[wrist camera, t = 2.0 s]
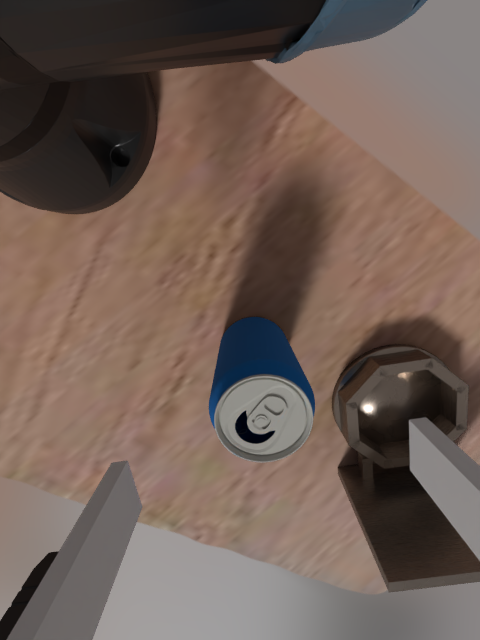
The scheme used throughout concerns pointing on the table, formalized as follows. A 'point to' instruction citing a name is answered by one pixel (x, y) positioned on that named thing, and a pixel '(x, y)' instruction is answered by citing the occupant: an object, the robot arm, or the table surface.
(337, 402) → the cup bracket
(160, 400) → the table surface
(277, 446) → the beverage can
